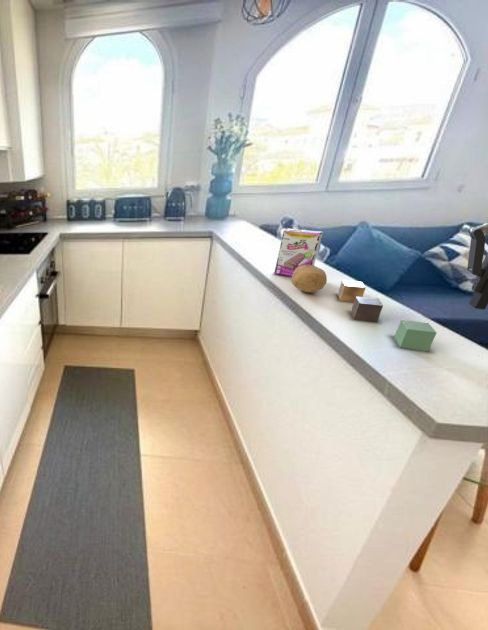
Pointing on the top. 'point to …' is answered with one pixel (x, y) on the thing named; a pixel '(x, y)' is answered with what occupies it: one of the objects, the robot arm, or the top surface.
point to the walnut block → (366, 309)
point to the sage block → (414, 335)
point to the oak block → (350, 290)
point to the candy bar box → (297, 250)
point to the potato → (309, 278)
